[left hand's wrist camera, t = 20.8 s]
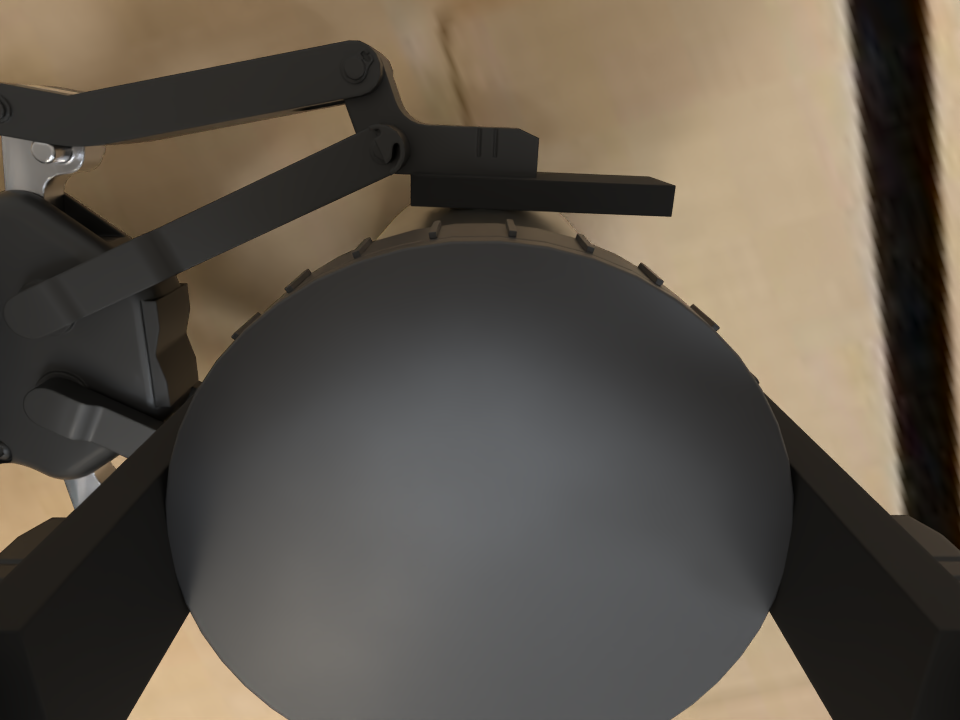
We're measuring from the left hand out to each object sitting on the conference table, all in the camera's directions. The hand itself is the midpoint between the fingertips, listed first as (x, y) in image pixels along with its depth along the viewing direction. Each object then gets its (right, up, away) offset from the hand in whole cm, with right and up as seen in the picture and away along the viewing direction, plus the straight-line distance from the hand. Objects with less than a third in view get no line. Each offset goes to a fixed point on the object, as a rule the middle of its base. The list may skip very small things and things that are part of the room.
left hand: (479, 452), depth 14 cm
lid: (0, -1, -3) cm, 3 cm away
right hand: (+5, +2, +6) cm, 7 cm away
